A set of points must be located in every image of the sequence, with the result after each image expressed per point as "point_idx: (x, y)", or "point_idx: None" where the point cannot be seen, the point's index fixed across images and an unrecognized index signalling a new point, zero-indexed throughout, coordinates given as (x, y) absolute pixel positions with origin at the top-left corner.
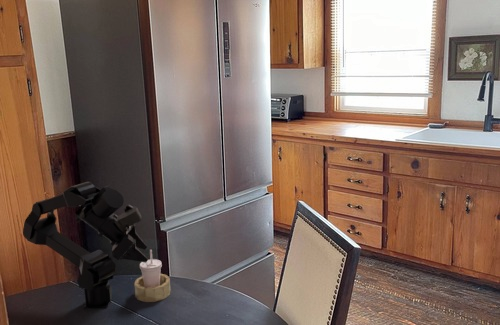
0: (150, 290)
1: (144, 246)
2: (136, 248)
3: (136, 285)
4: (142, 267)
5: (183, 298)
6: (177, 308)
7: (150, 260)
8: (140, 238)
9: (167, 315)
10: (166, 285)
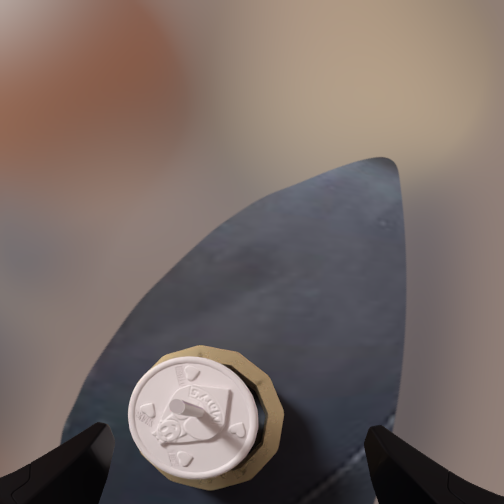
0: (281, 429)
1: (102, 443)
2: (484, 501)
3: (228, 483)
4: (231, 467)
5: (278, 320)
6: (340, 342)
7: (146, 413)
8: (41, 463)
9: (376, 371)
10: (252, 364)
